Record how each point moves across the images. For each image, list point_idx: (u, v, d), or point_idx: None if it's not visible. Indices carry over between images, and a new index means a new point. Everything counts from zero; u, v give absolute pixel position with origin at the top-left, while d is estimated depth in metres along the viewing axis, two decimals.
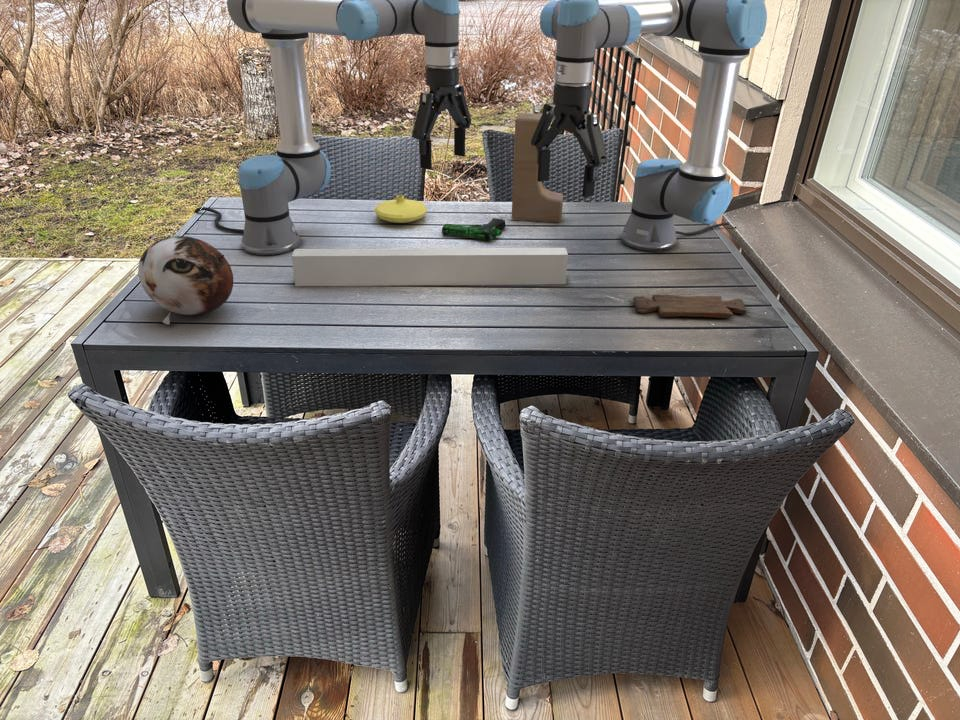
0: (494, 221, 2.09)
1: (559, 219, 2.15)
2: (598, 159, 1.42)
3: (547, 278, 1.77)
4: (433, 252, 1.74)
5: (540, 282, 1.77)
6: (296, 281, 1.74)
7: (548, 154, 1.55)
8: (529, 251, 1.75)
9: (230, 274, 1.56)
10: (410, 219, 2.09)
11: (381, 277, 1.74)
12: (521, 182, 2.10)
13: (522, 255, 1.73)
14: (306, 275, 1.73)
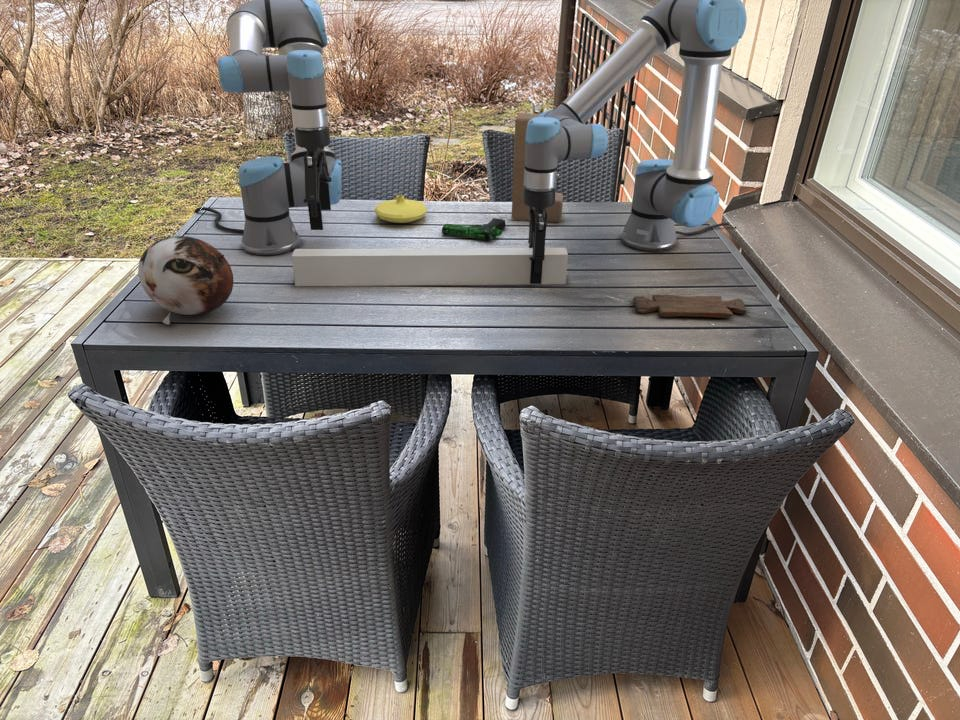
0: (494, 221, 2.09)
1: (559, 219, 2.15)
2: None
3: (547, 278, 1.77)
4: (433, 252, 1.74)
5: None
6: (296, 281, 1.74)
7: None
8: (529, 251, 1.75)
9: (230, 274, 1.56)
10: (410, 219, 2.09)
11: (381, 277, 1.74)
12: (521, 182, 2.10)
13: (522, 255, 1.73)
14: (306, 275, 1.73)
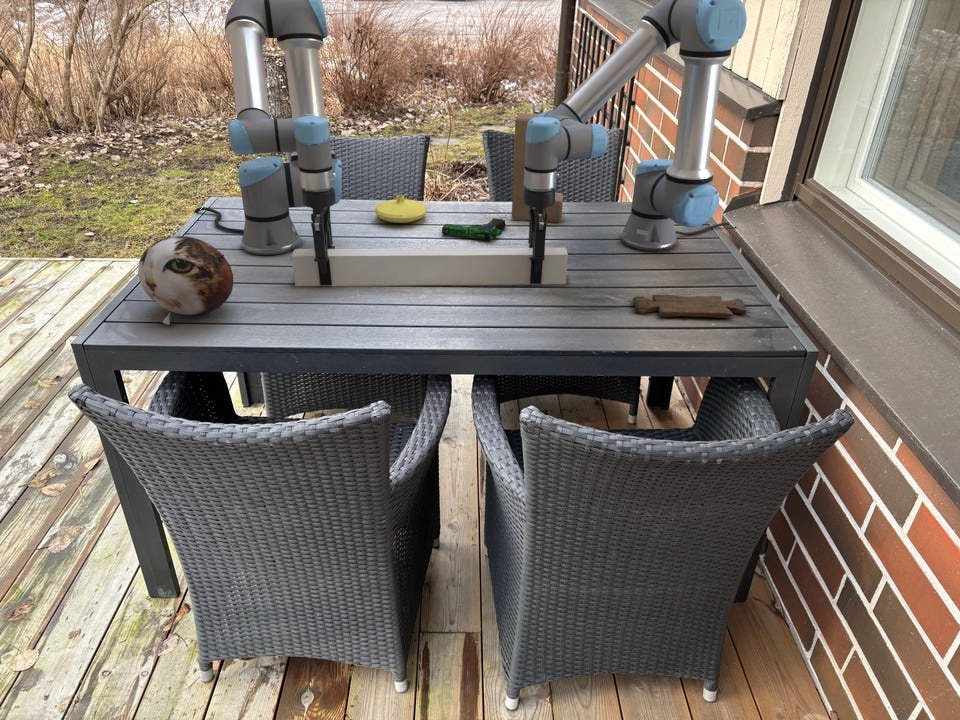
0: (494, 221, 2.09)
1: (559, 219, 2.15)
2: None
3: (547, 278, 1.77)
4: (433, 252, 1.74)
5: None
6: (296, 281, 1.74)
7: None
8: (529, 251, 1.75)
9: (230, 274, 1.56)
10: (410, 219, 2.09)
11: (381, 277, 1.74)
12: (521, 182, 2.10)
13: (522, 255, 1.73)
14: (306, 275, 1.73)
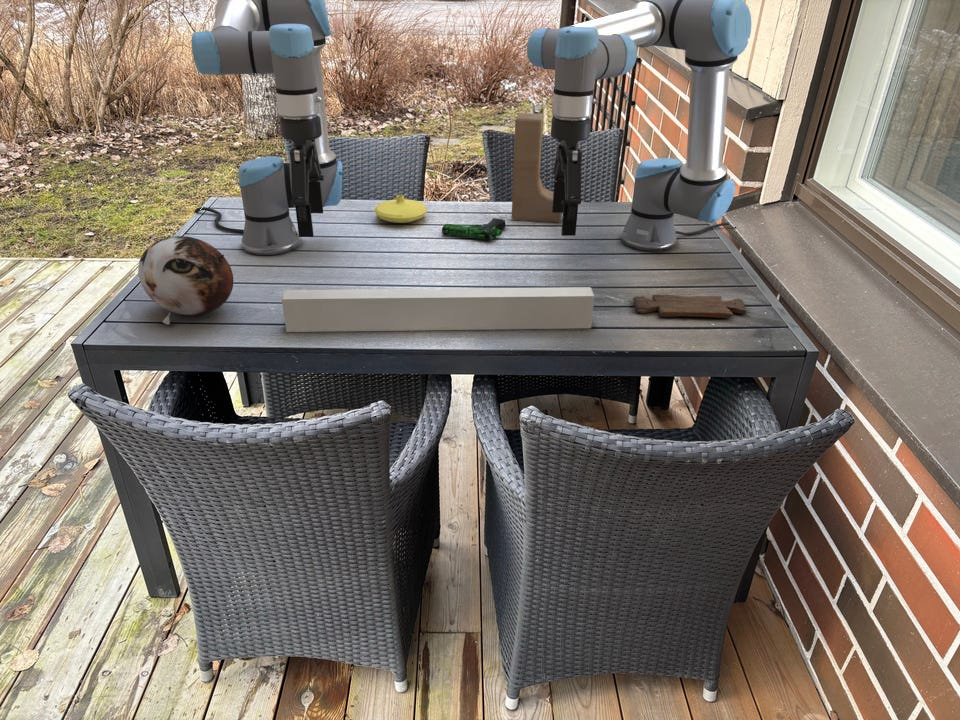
0: (494, 221, 2.09)
1: (559, 219, 2.15)
2: None
3: (571, 321, 1.57)
4: (442, 293, 1.54)
5: (563, 326, 1.57)
6: (288, 326, 1.54)
7: None
8: (550, 292, 1.55)
9: (230, 274, 1.56)
10: (410, 219, 2.09)
11: (383, 322, 1.54)
12: (521, 182, 2.10)
13: (542, 297, 1.53)
14: (299, 319, 1.53)
